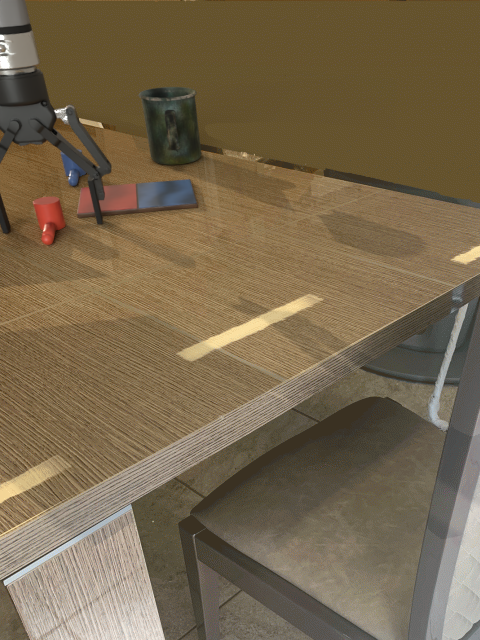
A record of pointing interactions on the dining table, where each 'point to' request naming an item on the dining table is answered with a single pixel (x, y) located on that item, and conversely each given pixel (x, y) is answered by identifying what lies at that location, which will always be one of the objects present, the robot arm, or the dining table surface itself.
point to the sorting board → (140, 198)
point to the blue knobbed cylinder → (72, 169)
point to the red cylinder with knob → (49, 217)
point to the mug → (171, 124)
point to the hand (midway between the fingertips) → (54, 226)
